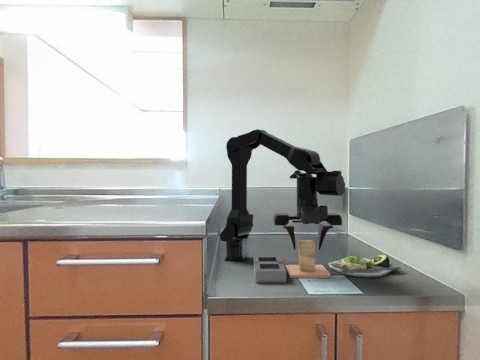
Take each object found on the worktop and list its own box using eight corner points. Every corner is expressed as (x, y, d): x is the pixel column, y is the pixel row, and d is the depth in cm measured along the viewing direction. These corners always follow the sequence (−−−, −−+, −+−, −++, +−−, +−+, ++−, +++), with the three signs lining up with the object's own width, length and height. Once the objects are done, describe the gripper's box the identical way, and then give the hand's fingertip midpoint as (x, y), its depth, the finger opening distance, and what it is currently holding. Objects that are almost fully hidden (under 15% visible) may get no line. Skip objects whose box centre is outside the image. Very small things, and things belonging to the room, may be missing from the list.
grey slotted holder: (253, 265, 114) (253, 255, 114) (279, 265, 114) (279, 255, 114) (255, 282, 96) (255, 271, 96) (286, 282, 96) (286, 271, 96)
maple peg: (298, 267, 108) (298, 240, 108) (312, 267, 108) (312, 240, 108) (300, 271, 104) (300, 242, 104) (315, 271, 104) (315, 242, 104)
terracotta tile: (285, 267, 112) (285, 264, 112) (322, 267, 111) (322, 264, 111) (290, 277, 101) (290, 274, 101) (330, 277, 100) (330, 274, 100)
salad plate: (368, 285, 95) (368, 267, 94) (314, 271, 108) (314, 255, 108) (407, 272, 107) (407, 256, 106) (353, 261, 121) (353, 246, 120)
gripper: (276, 196, 98) (276, 256, 98) (347, 196, 97) (347, 255, 98) (273, 194, 109) (273, 247, 109) (337, 194, 109) (336, 247, 109)
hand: (306, 249), depth 106 cm, fingers open, 7 cm apart
